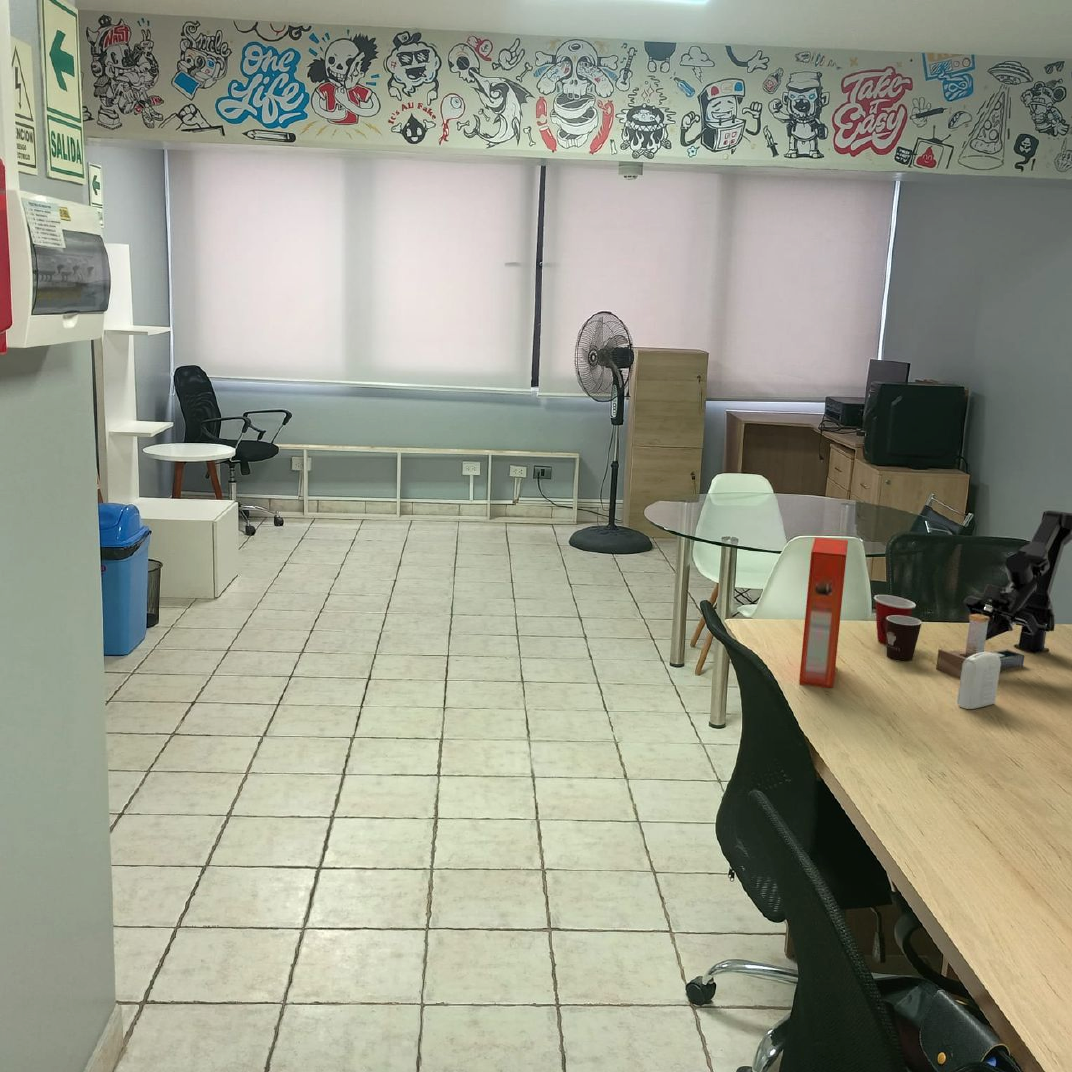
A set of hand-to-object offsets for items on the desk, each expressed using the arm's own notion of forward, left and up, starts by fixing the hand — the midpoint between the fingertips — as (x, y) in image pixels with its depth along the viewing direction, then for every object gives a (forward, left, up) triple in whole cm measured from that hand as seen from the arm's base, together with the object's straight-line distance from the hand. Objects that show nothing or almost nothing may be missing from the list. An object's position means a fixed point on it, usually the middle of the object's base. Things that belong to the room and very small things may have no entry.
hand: (981, 640), depth 272 cm
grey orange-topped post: (-1, 0, -7) cm, 7 cm away
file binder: (+42, -13, -8) cm, 44 cm away
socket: (+5, 0, -8) cm, 9 cm away
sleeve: (-8, 0, -8) cm, 11 cm away
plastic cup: (+4, -25, -8) cm, 27 cm away
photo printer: (+22, +17, -8) cm, 29 cm away
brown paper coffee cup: (+11, -16, -8) cm, 21 cm away
